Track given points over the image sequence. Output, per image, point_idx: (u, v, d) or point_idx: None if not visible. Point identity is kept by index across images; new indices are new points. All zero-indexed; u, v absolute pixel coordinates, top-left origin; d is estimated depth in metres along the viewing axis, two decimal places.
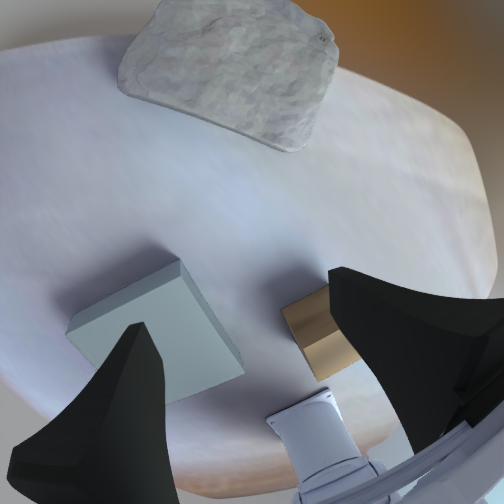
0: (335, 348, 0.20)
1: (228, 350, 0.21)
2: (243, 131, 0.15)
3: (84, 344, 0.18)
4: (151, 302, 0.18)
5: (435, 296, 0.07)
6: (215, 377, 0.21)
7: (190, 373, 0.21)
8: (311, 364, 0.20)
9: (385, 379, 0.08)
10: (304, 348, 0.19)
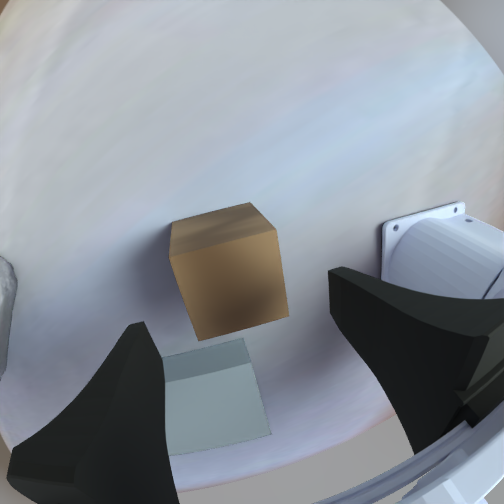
0: (223, 295, 0.13)
1: (206, 374, 0.17)
2: None
3: (174, 450, 0.20)
4: None
5: (435, 296, 0.07)
6: (244, 387, 0.19)
7: (228, 403, 0.19)
8: (238, 329, 0.14)
9: (385, 379, 0.08)
10: (198, 339, 0.13)
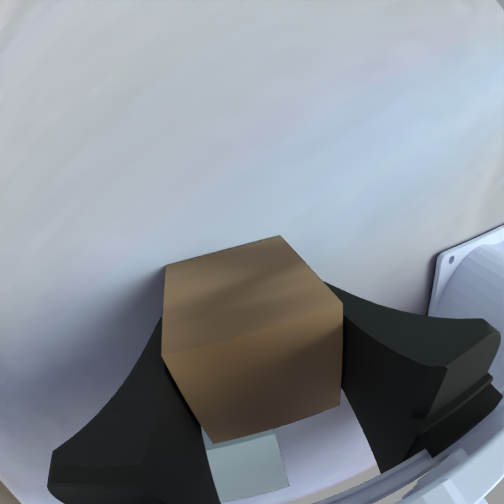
0: (251, 396, 0.08)
1: (218, 448, 0.12)
2: None
3: None
4: None
5: (401, 312, 0.07)
6: (263, 455, 0.14)
7: (243, 469, 0.14)
8: (270, 428, 0.08)
9: (351, 395, 0.08)
10: (213, 442, 0.08)
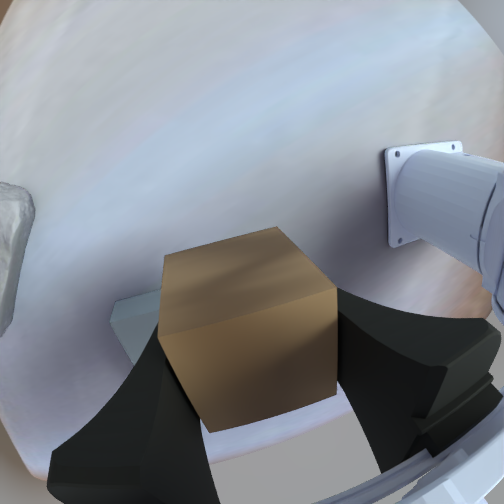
0: (246, 383, 0.08)
1: None
2: (8, 264, 0.13)
3: None
4: (135, 350, 0.18)
5: (401, 312, 0.07)
6: None
7: None
8: (266, 417, 0.09)
9: (351, 395, 0.08)
10: (209, 431, 0.08)
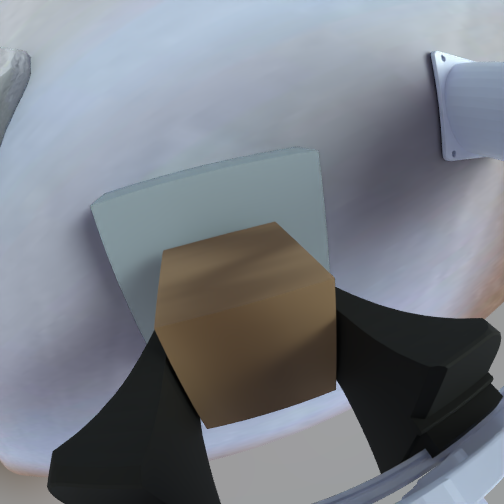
0: (244, 376, 0.08)
1: (252, 163, 0.12)
2: None
3: None
4: (124, 256, 0.12)
5: (401, 312, 0.07)
6: (305, 203, 0.13)
7: None
8: (264, 412, 0.09)
9: (351, 395, 0.08)
10: (207, 426, 0.08)
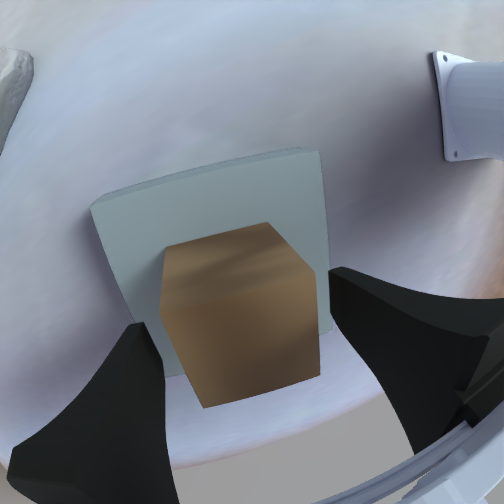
0: (237, 358, 0.09)
1: (252, 164, 0.12)
2: None
3: None
4: (123, 257, 0.12)
5: (435, 296, 0.07)
6: (305, 203, 0.13)
7: None
8: (255, 394, 0.10)
9: (385, 379, 0.08)
10: (203, 406, 0.10)
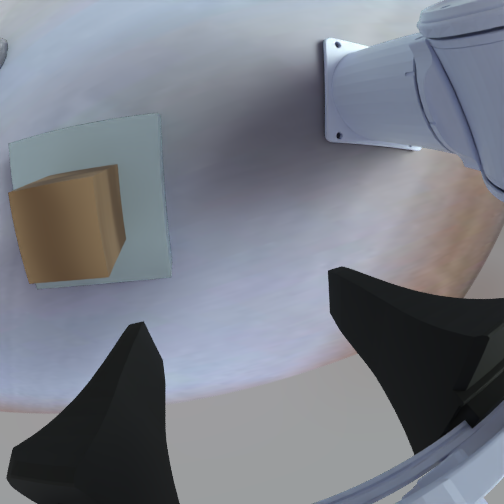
0: (45, 238, 0.11)
1: (106, 121, 0.14)
2: None
3: None
4: (20, 181, 0.13)
5: (435, 296, 0.07)
6: (142, 154, 0.15)
7: (120, 180, 0.15)
8: (61, 279, 0.11)
9: (385, 379, 0.08)
10: (29, 281, 0.11)
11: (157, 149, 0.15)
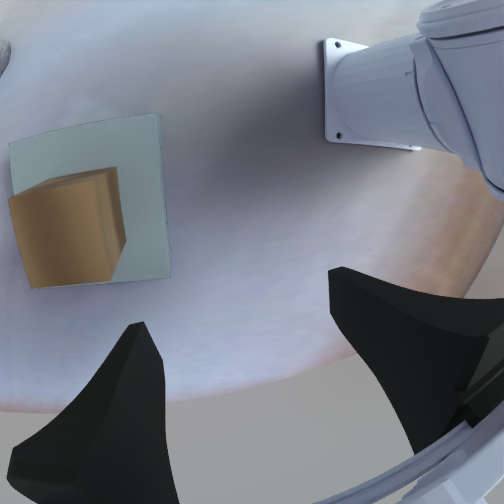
0: (46, 243, 0.11)
1: (105, 121, 0.14)
2: None
3: None
4: (20, 181, 0.13)
5: (435, 296, 0.07)
6: (142, 154, 0.15)
7: (119, 180, 0.15)
8: (63, 283, 0.12)
9: (385, 379, 0.08)
10: (31, 286, 0.11)
11: (156, 149, 0.15)
